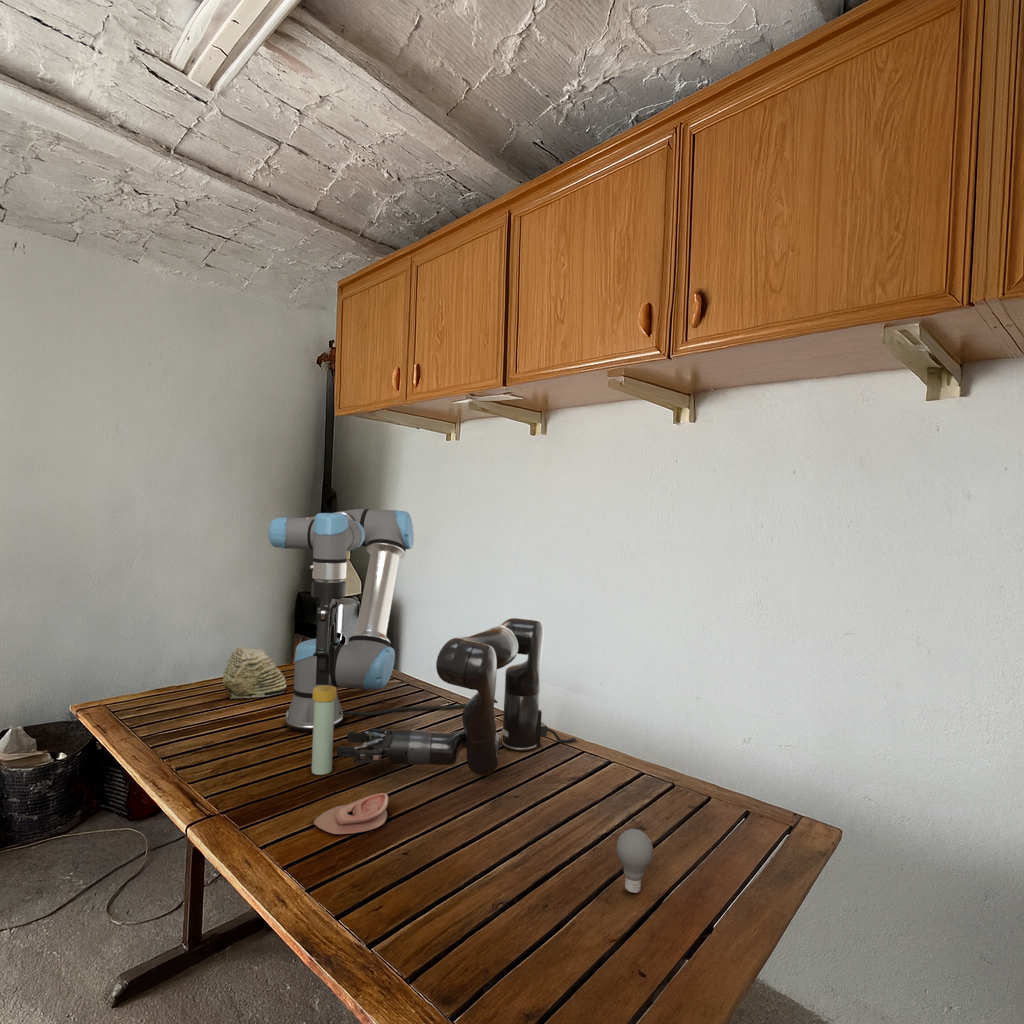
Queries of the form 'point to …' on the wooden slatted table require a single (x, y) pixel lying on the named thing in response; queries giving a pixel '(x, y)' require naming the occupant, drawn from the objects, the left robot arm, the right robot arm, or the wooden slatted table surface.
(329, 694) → the lid
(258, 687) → the fossil
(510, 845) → the wooden slatted table surface
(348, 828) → the anatomical model
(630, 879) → the light bulb
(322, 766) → the pale green cylindrical bottle
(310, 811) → the wooden slatted table surface
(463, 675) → the right robot arm
